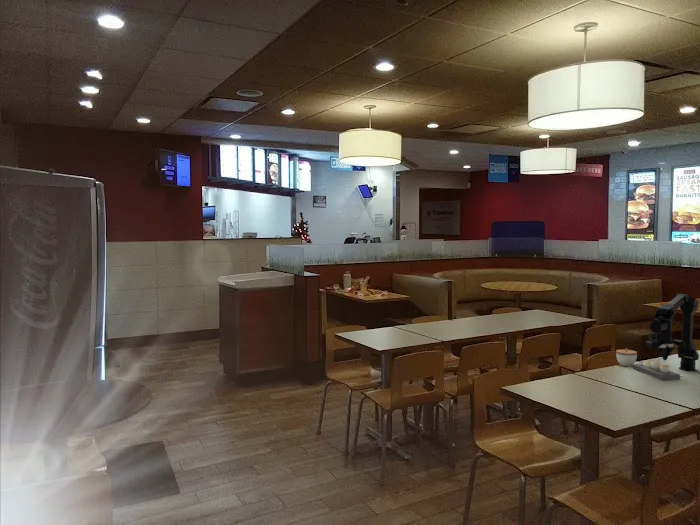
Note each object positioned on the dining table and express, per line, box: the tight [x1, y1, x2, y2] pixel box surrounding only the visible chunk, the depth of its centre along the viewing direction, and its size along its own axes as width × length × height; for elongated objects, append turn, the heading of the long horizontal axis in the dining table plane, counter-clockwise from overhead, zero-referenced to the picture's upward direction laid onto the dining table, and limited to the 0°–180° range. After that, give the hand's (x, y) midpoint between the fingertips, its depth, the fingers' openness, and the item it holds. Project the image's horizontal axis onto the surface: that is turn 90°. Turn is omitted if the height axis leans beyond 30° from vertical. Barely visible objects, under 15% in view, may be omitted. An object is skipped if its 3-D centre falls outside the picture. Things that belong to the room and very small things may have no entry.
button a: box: [642, 361, 652, 367], centre depth 305 cm, size 4×4×4 cm
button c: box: [660, 364, 670, 374], centre depth 291 cm, size 4×4×4 cm
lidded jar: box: [615, 347, 638, 367], centre depth 318 cm, size 11×11×9 cm
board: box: [632, 363, 681, 381], centre depth 298 cm, size 10×24×2 cm, turn 7°
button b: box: [650, 361, 661, 370], centre depth 298 cm, size 4×4×4 cm
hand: (664, 360), depth 291 cm, fingers closed
